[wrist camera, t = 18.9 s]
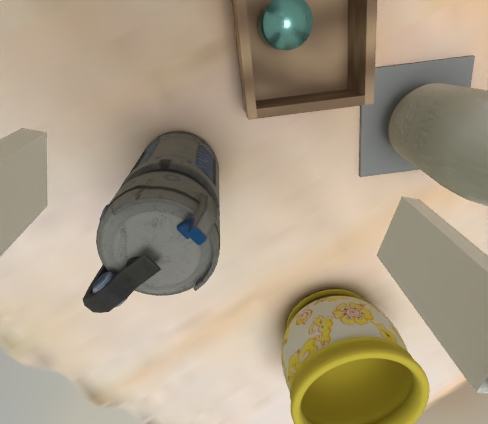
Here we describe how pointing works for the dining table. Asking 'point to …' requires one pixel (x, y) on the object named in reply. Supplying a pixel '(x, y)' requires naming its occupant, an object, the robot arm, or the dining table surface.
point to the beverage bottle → (160, 224)
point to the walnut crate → (308, 60)
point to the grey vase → (445, 136)
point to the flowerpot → (349, 364)
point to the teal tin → (285, 24)
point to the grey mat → (389, 96)
